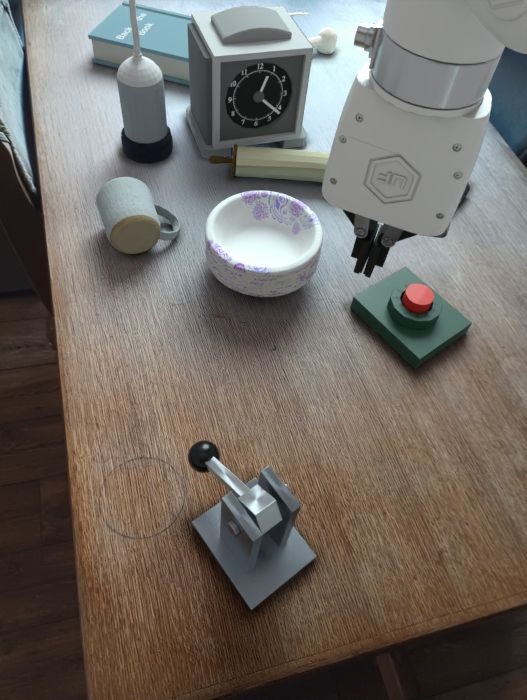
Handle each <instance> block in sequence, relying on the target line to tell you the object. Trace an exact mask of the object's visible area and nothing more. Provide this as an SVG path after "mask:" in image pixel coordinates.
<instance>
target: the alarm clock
mask: <svg viewBox="0 0 527 700" xmlns="http://www.w3.org/2000/svg"><path fill="white" fill-rule="evenodd" d="M288 13H289V12H288V11H287V9H286V8H285V7H284V6H283V5H282V6H281V5H280V6H279V5H278V6H269V7H268V6H266V7H264V6H257V5H241V6H235V7H231V8H227V9H223V10H211V11H210V10H209V11H208V10H207V11H195V12H194V11H193V12H191V13H190V14H191V15H190V16H191V19H192V23H187V27H188V54H189V81H190V86H189V104H190V105H187V106H186V108H185V117H186V121H187V123H188V125H189V128H190V130H191V133H192V135H193V137H194V139H195V142H196V144H197V147H198V149H199V152H200V154H201V156H202V157H204V159H209V158H210V157H211V156H221V157H231V154H232V153H231V152H232V151H231V149H232V148H234V144H237V145H238V146H253V145H261V144H268V143H274V142H275V143H276V142H279V144H280V145H281V148H282V149H292V148H298V147H304V146H305V145H306V143H307V138H308V137H307V136H308V133H307V131H306V129H305V127H304V126H303V122H304V117H305V109H306V101H307V95H308V87H309V82H310V75H311V67H312V61H313V53H314V48H313V46H312V44H311V43H310V41H309V40H308V38H307V36H306V34H305V33H304V32H303V30H302V29H301V28H300V26H299V25H298V23H297V22H296V20H295V19H294V18H293V16H290V15H289V14H288Z"/></svg>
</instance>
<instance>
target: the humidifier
mask: <svg viewBox="0 0 527 700" xmlns="http://www.w3.org/2000/svg"><path fill="white" fill-rule="evenodd" d="M128 2H129V7H130V22H131V27H132V33H133V45H134V53H133V56H132V57H130V58H128V59H126V60H125V61H124V62H123V63H122V64H121V65H120V67H119V68H117V69H118V70H117V72H116V83H117V91H118V96H119V105H120V110H121V116H122V124H123V127H122V128H121V132H120V140H121V146H122V152H123V154H124V156H125V157H126V158H127V159H128V160H131V161H132V162H134V163H137V164H142V165H143V164H144V165H151V164H152V165H153V164H157V163H162V162H164V161H165V160H167V159H168V158H170V157H171V155H172V154H173V151H174V141H173V134H172V131H171V128H170V127H169V126H168V120H167V108H166V107H167V106H166V95H165V94H166V93H165V82H164V81H165V80H164V79H163V77H162V76H163V75H162V72H161V70H160V68H159V67H158V66H157V65H156V64H155V63H154V62H153V61H152V60H150V59H149V58H147V57H144V56H142V53H141V52H140V38H139V30H138V25H137V18H136V5H135V4H136V0H128Z"/></svg>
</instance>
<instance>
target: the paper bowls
mask: <svg viewBox="0 0 527 700" xmlns="http://www.w3.org/2000/svg"><path fill="white" fill-rule="evenodd" d="M204 240H205V241H204V243H205V249H204V250H205V251H204V252H205V260H206V263H207V266H208V268H209V270H210V272H211V273H212V274H213V276H214V277H215V278H216V279H217V280H218V281H219V282H220V283H221V284H222V285H224V286H225V287H227V288H229V289H231V290H233V291H235V292H237V293H241V294H242V295H247V296H252V297H260V298H273V297H280V296H286V295H289V294H291V293H293V292H295V291H297V290H299V289H301V288H302V287H304V286H305V285H306V284H307V283H309V282H310V281H311V280H312V278H313V277H314V275H315V274H316V271H317V269H318V265H319V262H320V257H321V254H322V253H321V252H322V246H323V240H324V233H323V226H322V224H321V221H320V219H319V217H318V216H317V215H316V213H315V212H314V211H313V210H312V208H310V207H309V206H308V205H307V204H305V203H304V202H302V201H301V200H299V199H297V198H296V197H295V198H294V197H293V196H290V195H288V194H285V193H282V192H277V191H273V190H272V191H271V190H248V191H243V192H240V193H236V194H233V195H231V196H229V197H227V198H225V199H224V200H222V201H220V202H219V203H218V204H216V205H215V206H214V208H213V209H212V210H211V211H210V213H209V214H208V216H207V219H206V222H205V225H204Z"/></svg>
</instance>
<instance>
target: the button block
mask: <svg viewBox="0 0 527 700" xmlns="http://www.w3.org/2000/svg"><path fill="white" fill-rule="evenodd" d="M411 284H423V285H425V286H427V287H429V288H430V289H431V290H432V292H433V294H434V300H433V302H432V304H431V306H430V308H429V310H428V311H427V312H425V313H422V314H416V313H413V312H410V311H408V310H407V309H406V308H405V307H404V306H403V304H402V298H403V295H404V293H405V291H406V288H407V287H408V286H409V285H411ZM349 308H350V309H351V310H352V311H353V312H354V313H355V314H356V315H358V316H359V318H360V319H362V320H363V321H364V323H366V325H368V326H369V327H370V328H371V329H372V330H373V331H374V332H375V333H376V334H377V335H378V336H379V337H380V338H381V339H383V341H385V342H386V343H387V344H388V346H390V347H391V348H392V349H393V350H394V351H395V352H396V353H397V354H398V355H399V356H400V357H401V358H402V359H403V360H405V362H406V363H408V365H409V366H411V367H412V368H413V369H414V370H415V369H417V368H419V367H420V366H421V365H422V364H424V363H425V362H427V361H428V360H430V359H431V358H432V357H434V356H435V355H437V354H438V353H440V352H441V351H442V350H444V349H445V348H447V347H448V346H450V345H451V344H453V343H454V342H456V341H457V340H459V339H460V338H461V337H462V336H464V335H466V334H467V332H468V330H469V329H470V328H471V326H472V324H473V322H472V321H470V320H469V319H468V318H467V317H465V315H463V314H462V313H461V312H460V311H459V310H457V309H456V308H455V307H454V306H452V304H450V303H449V302H448V301H447V300H446V299H445V298H443V297H442V296H441V295H440V294H439V293H438V292H437V291H435V290H434V289H433V288H432V287H431V286H429V285H428V284H427V283H426V282H425V281H423V280H422V279H421V278H420V277H419V276H418V275H417V274H415V273H414V272H413V271H412V270H411V269H409V268H408V267H407V266H404V267H402V268H401V269H399V270H397V271H396V272H393V273H392V274H390V275H389V276H387V277H385V278H383V279H382V280H380V281H378V282H376V283H375V284H374V285H372V286H370V287H368V288H366V289H365V290H363V291H362V292H359V293H358V294H356V295H354V296H353V298H352V301H351V304H350V307H349Z"/></svg>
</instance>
